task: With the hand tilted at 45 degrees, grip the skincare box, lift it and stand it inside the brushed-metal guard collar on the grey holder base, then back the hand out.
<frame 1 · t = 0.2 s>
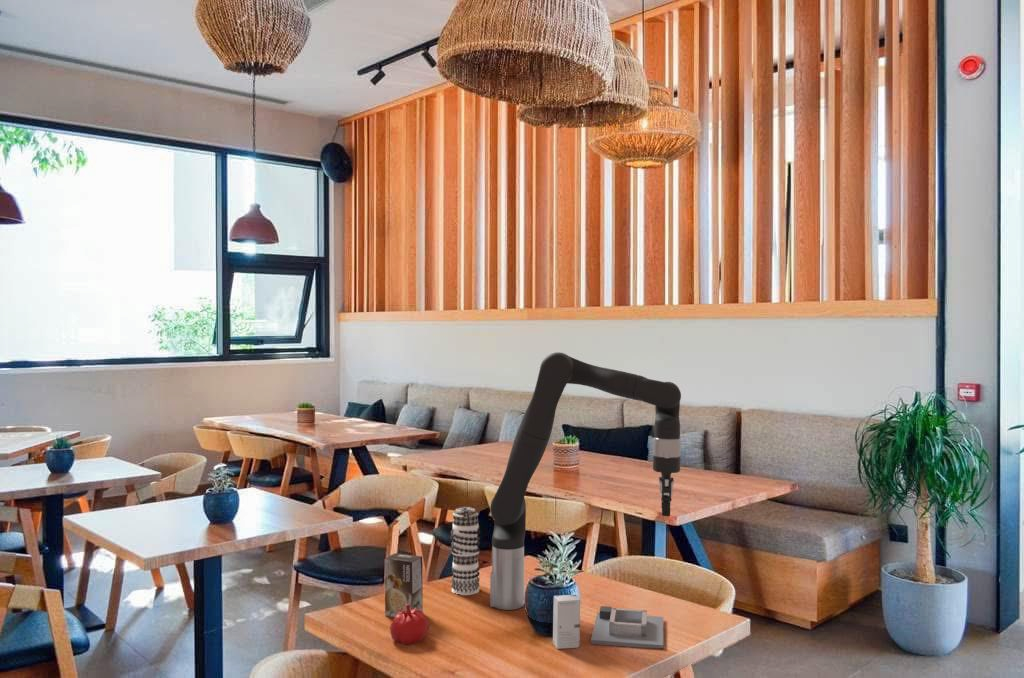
hand: (665, 512, 226), 29 cm above the table, tool pointing down, fingers open, 8 cm apart
skincare box: (566, 646, 205), on the table
coffee box: (403, 615, 227), on the table
guard collar: (628, 622, 214), point 2 cm above the table
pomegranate: (409, 640, 209), on the table
decorative candle: (465, 591, 247), on the table
grey holder base: (628, 631, 214), on the table
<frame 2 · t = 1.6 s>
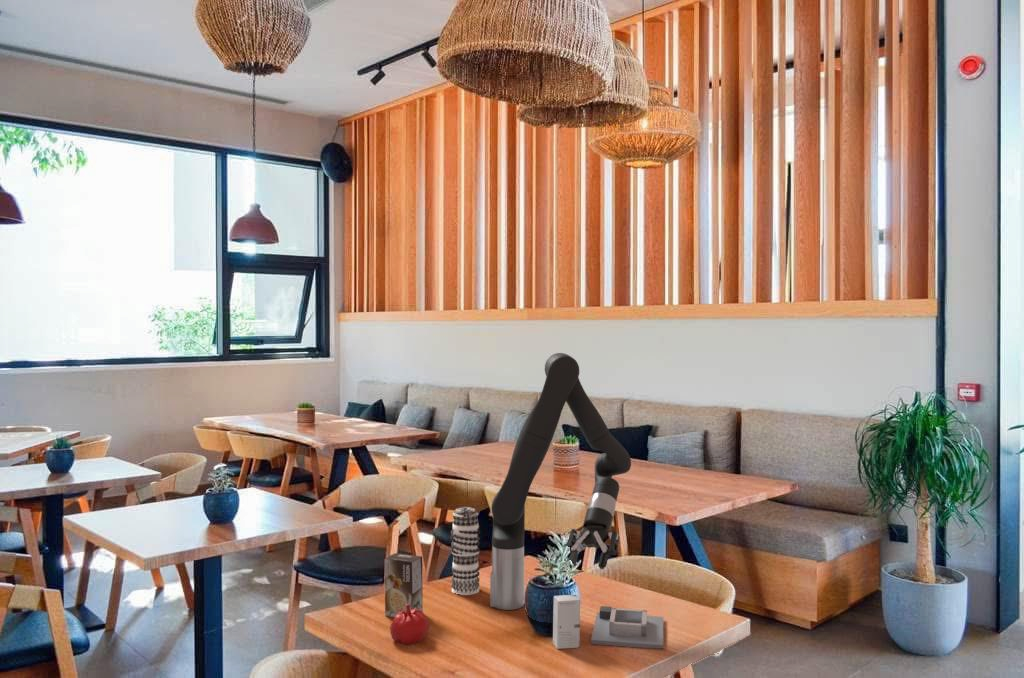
hand: (586, 566, 217), 16 cm above the table, tool tilted 40°, fingers open, 8 cm apart
nothing on the table moved.
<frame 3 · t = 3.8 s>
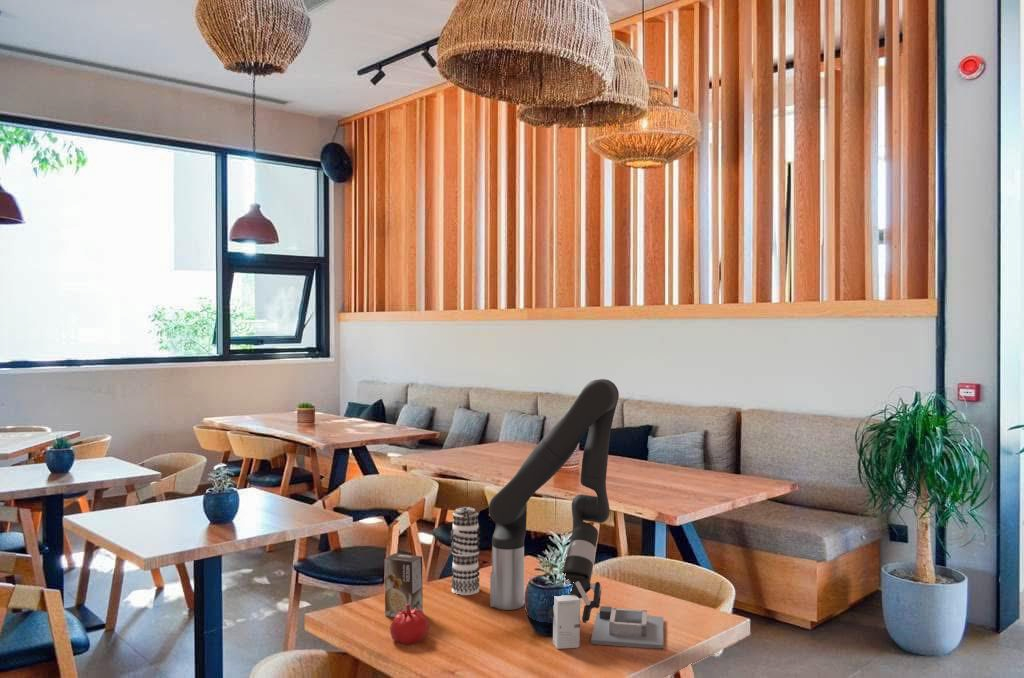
hand: (567, 619, 205), 7 cm above the table, tool tilted 45°, fingers open, 8 cm apart
nothing on the table moved.
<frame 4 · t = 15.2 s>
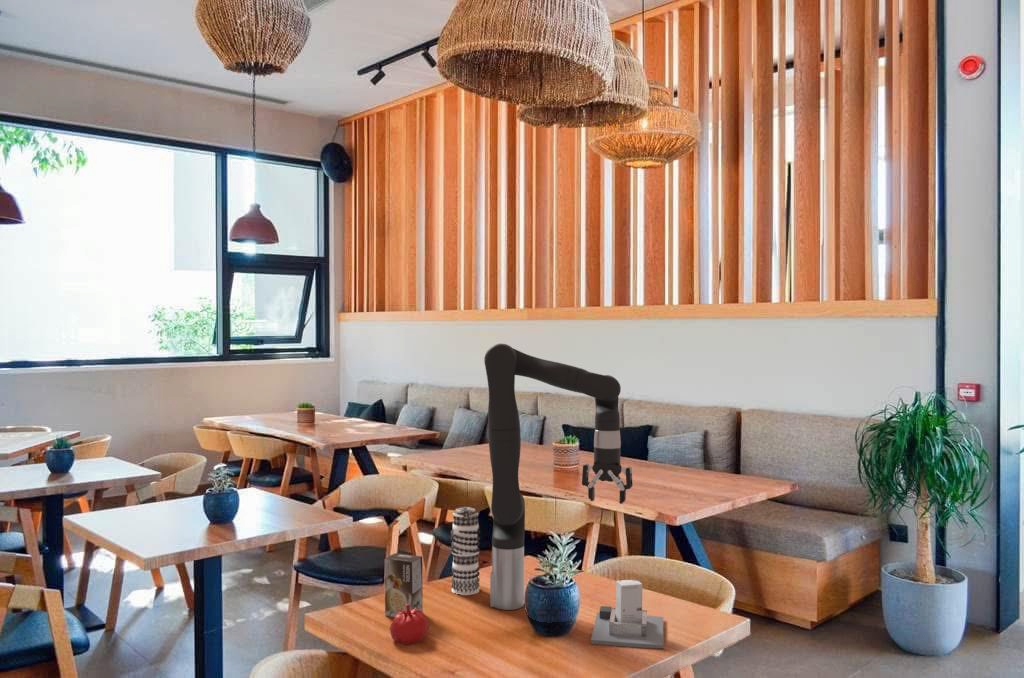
hand: (606, 502, 233), 30 cm above the table, tool pointing down, fingers open, 8 cm apart
skincare box: (628, 628, 214), point 1 cm above the table, touching grey holder base
everything else where it was.
at the end: skincare box 0.1 cm off-centre on the guard collar, point 0.8 cm above the guard collar's base; skincare box tilted 0°; the gripper is holding nothing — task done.
